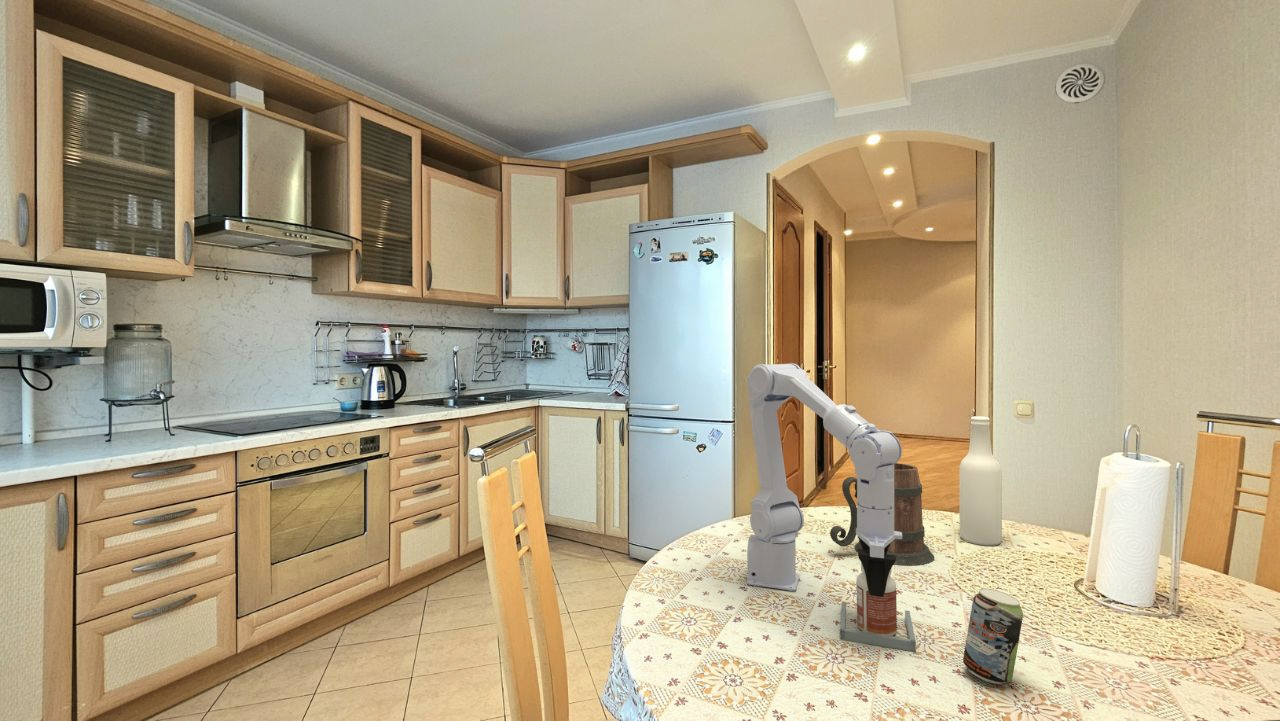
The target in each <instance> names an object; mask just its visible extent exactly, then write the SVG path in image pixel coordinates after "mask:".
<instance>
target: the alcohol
mask: <svg viewBox="0 0 1280 721" xmlns="http://www.w3.org/2000/svg"><path fill="white" fill-rule="evenodd" d="M970 420H971V421H970V424H971V425H970V427H971V428H970V433H969V434H970V435H969V450H968V452H967V454H966V455H965V457H963V458H962V460H961V461H960V464H959V466H958V467H959V468H958V471H959V472H958V473H959V476H958V477H959V489H958V490H959V491H958V492H959V495H958V496H959V500H958V501H959V509H958V510H959V514H958V515H959V536H960V538H961V539H962V540H963V541H964V542H967V543H970V544H973V545H978V546H984V547H985V546H987V547H989V546H990V547H991V546H992V547H993V545H995V546H998V545H1000V543H1001V542H1002V540H1003V521H1002V520H1003V470H1002V467H1001V464H1000V463H999V462H998V461H999V460H997V459H996V457H994V456H993V452H992V442H991V441H992V440H991V432H990V431H991V430H990V425H991V422H990V420H991V419H990V418H989V417H988V416H979V415H977V416H976V415H974V416H971V417H970Z"/></svg>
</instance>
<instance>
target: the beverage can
mask: <svg viewBox="0 0 1280 721" xmlns="http://www.w3.org/2000/svg"><path fill="white" fill-rule="evenodd" d="M1023 619H1024V612H1023V609H1022V606H1021V602H1020V600H1019V599H1018V598H1016V597H1014V596H1013V595H1010V594H1009V593H1007V592H1006V593H1005V592H1003V591H1000V590H996V589H993V588H987V587H986V588H985V587H983V588H979V591H978V592H977V593H976V594H974V596H973V599H972V604H971V609H970V615H969V621H968V622H969V623H968V628H967V633H966V640H965V645H964V652H963V658H962V662H963V665H965V667H966V668H967V670H968V671H969V672H970V673H971V674H972V675H974V676H975V677H977V678H978V679H980V680H982V681H984V682H988V683H990V684H995V685H1003V684H1006V683H1010V682H1012V681H1013V678H1014V671H1015V666H1016V659H1017V653H1018V648H1019V642H1020V641H1019V640H1020V636H1021V630H1022V624H1023Z"/></svg>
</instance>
